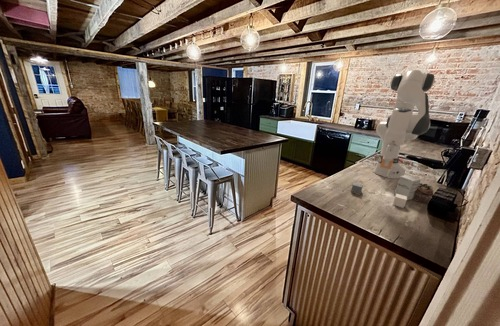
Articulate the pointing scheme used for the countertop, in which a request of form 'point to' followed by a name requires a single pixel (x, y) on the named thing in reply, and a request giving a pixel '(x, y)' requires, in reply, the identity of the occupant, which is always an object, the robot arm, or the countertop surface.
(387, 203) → the countertop surface
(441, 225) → the countertop surface
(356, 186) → the charcoal cube
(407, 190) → the supplement box
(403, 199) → the offwhite cube
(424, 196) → the cupcake
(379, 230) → the countertop surface
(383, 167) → the terracotta cube
